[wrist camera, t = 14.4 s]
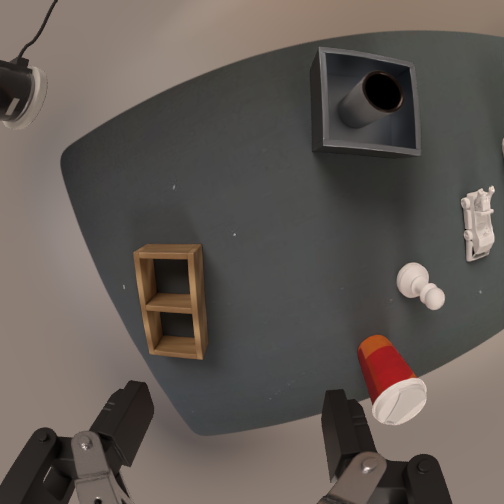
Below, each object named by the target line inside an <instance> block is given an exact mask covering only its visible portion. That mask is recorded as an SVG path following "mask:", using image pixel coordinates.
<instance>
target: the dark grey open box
mask: <svg viewBox="0 0 504 504" xmlns="http://www.w3.org/2000/svg"><path fill="white" fill-rule="evenodd" d="M377 70H379V71H384V72H387V73H389V74H391V75H392V76H394V77H395V78H396V79H397V80H398V81H399V83H400V84H401V86H402V88H403V91H404V102H403V105H402V107H401V108H400V109H399V110H398V111H396V112H394V113H392V114H390V115H388V116H386V117H383V118H381V119H379V120H377V121H375V122H373V123H371V124H369V125H367V126H365V127H362V128H353V127H350V126H348V125H347V124H345V123H344V122H343V120H342V119H341V117H340V115H339V111H338V107H339V103H340V102H341V100H342V99H343V98H344V97H345V96H346V95H347V94H348V93H349V92H350V91H351V90H352V89H353V88H354V87H355V86H356V85H357V84H358V83H359V82H360V81H361V80H362V79H363V78H364V77H365V76H366V75H367V74H368V73H369V72H372V71H377ZM310 87H311V117H312V152H324V153H340V154H353V155H365V156H375V157H384V158H393V159H395V158H405V157H417V156H421V130H420V113H419V101H418V91H417V82H416V74H415V68H414V63H411V62H407V61H403V60H399V59H395V58H390V57H385V56H380V55H375V54H370V53H364V52H358V51H351V50H344V49H336V48H326V47H319V48H318V50H317V53H316V55H315V58H314V61H313V63H312V66H311V68H310Z"/></svg>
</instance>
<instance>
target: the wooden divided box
mask: <svg viewBox="0 0 504 504" xmlns="http://www.w3.org/2000/svg"><path fill="white" fill-rule="evenodd" d="M153 259H188V270H189V283H190V294H172V293H157V289H156V281H155V272H154V263H153ZM134 261H135V269H136V277H137V284H138V291H139V298H140V304H141V310H142V316H143V322H144V327H145V332H146V338H147V343H148V347H149V352H150V354H155V355H162V356H171V357H180V358H190V359H203V357H204V354H205V352H206V349H207V346H208V343H209V341H208V330H207V317H206V304H205V290H204V274H203V257H202V244H147V245H145V246H143V247H142V248H140V249H138V250H137V251H135V252H134ZM160 312H173V313H188V314H192V316H193V326H194V335H195V338H190V337H178V336H167V335H163V331H162V324H161V318H160Z"/></svg>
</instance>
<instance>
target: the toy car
mask: <svg viewBox="0 0 504 504" xmlns="http://www.w3.org/2000/svg"><path fill="white" fill-rule="evenodd" d="M494 192H495V189H494V186H492V187H489V192H488V193H487V192H484V191H483V189H482V188H481V189H479V190H478V191H477V192H473V193H468V194H467V197H465V198H462V199H461V206H462V207H463V212H464V222H465V229H469V230H465V231H464V238H465V239H466V260H467V261H473V260H476V259H479V258H481V257H484V256H486V255H488V254H489V249H490V248H491V247H492V244H493V243H494V233H493V227H492V225H491V219H490V214H491V213H493V212H494V211H493V209H490V200H491V196H492V194H493V193H494ZM467 208H468V209H467ZM471 239H472V241H470V240H471ZM472 246H473V249H474V252H475V254H474V255H473V256H472ZM476 254H478V255H476Z"/></svg>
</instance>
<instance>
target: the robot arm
mask: <svg viewBox="0 0 504 504" xmlns="http://www.w3.org/2000/svg"><path fill="white" fill-rule="evenodd" d="M57 1H58V0H54V2H53V3H52V5H51V7H50V9H49V11H48V13H47V15H46V17H45V20H44V22H43V24H42V26H41V28H40V30H39V31H38V33H37V35H36V36H35V37H34V39H33V40H32V41H31V42H29V43H28V44H26V45H25V46H24V48H23V49H22V50H21V52H20V54H19V56H18V57H16V58H15V59H13V60H12V61H10V62H6V61H2V60H0V120H1V121H8V122H15V121H17V120H19V119H20V118H21V117H22V116H23V115H24V114H25V112H26V111H27V109H28V107H29V105H30V103H31V101H32V98H33V95H34V90H35V79H34V76H33V75H32V72H33V69H30V68H27V67H28V62H29V60H28V59H25V58H22V55H23V53H24V51H25V50H26V49H27V47H29V46H30V45H32V44H33V43H34V42H35V41H36V40H37V39H38V37H39V36H40V34H41V32H42V31H43V29H44V27H45V25H46V23H47V20H48V18H49V16H50V14H51V12H52V9H53V8H54V6H55V4H56V3H57ZM153 414H154V405H153V402H152V399H151V396H150V392H149V389H148V386H147V384H146V383H145V382H138V381H132V380H131V381H129V382H128V383H127V385H126V386H125V388H124V389H119V390H118V391H116V392H115V393H113V394H112V395H111V397H110V398H109V400H108V401H107V403H106V404H105V406H104V407H103V410H102V411H101V412H100V414H99V415H98V417H97V418H96V420H95V421H94V423H93V425H92V426H91V428H90V430H89V431H82V432H79V433H77V434H76V435H75V436H74V437H73V438H71V437H58V436H57V435H56V433H55V432H54V431H53V430H52V429H50V428H40V429H38V430H36V431H35V432H34V433H33V435H32V436H31V438H30V439H29V440H28V442H27V443H26V445H25V447H24V448H23V450H22V451H21V453H20V454H19V456H18V457H17V459H16V460H15V462H14V464H13V465H12V467H11V468H10V470H9V472H8V474H7V475H6V477H5V478H4V480H3V482H2V483H1V485H0V504H68V502H69V500H70V498H71V496H72V494H73V491H74V489H75V487H76V491H77V495H78V499H79V502H80V504H134V502H133V500H132V498H131V495H130V493H129V491H128V488H127V486H126V484H125V481H124V479H123V476H122V474H121V471H120V468H121V466H122V465H125V466H129V467H131V465H132V462H133V460H134V458H135V456H136V453H137V451H138V449H139V447H140V444H141V442H142V440H143V438H144V435H145V433H146V431H147V429H148V427H149V424H150V422H151V420H152V418H153ZM321 421H322V430H323V436H324V442H325V449H326V455H327V462H328V469H329V476H330V482H331V483H335V482H336V483H335V485H334V486H333V487H332V489H331V490H330V491H329V492H328V494H327V495H326V496H323V498H321V499H320V501H319V502H318V503H317V504H452V501H451V498H450V495H449V491H448V488H447V486H446V483H445V479H444V476H443V474H442V471H441V468H440V465H439V463H438V461H437V459H436V458H434V457H433V456H431V455H428V454H420V455H417V456H414V457H413V458H412V459H411V460H410V461H409V462H402V461H390V460H387V459H385V458H384V457H383V456H381V455H380V454H379V453H378V452H377V450H376V448H375V445H374V441H373V438H372V435H371V432H370V429H369V426H368V424H367V420H366V418H365V414H364V411H363V408H362V406H361V405H360V404H359V403H358V402H357V401H356V400H355V399H352V400H347V398H346V395H345V392H344V390H343V389H339V390H327V391H326V393H325V399H324V404H323V410H322V418H321ZM50 467H52V468H51V469H50V471H49V473H48V475H47V477H46V479H45V481H44V483H43V480H44V477H45V475H46V474H47V472H48V470H49V468H50Z"/></svg>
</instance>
